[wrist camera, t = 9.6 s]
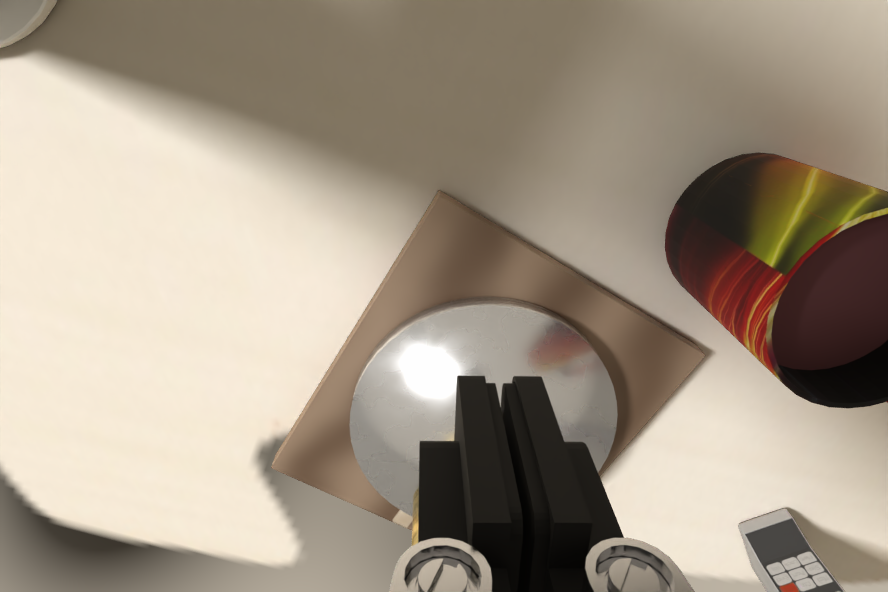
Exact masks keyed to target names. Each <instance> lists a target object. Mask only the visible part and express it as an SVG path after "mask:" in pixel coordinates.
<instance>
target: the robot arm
mask: <svg viewBox="0 0 888 592" xmlns="http://www.w3.org/2000/svg"><path fill="white" fill-rule="evenodd" d="M56 3H57V0H0V48H2V47H6V46H9V45H11V44H13V43H15V42H17V41H19V40H21V39H23V38H25V37H27V36H28V35H29V34H30V33H31V32H33V31H34V30H35V29H36V28H37V27H38V26H39V25H41V24H42V23H43V22H44V20H45V19H46V18H47V16H48V15H49V13H50V12H51V10H52V9H53V8H54V6H55V5H56ZM389 592H695V591H694V590H693V589H692V587H691V585H690V584H689V583H688V581H687V579H686V578H685V576H684V575H683V573H682V572H681V570H680V569H679V568H678V566H677V565H676V564H675V563H674V562H673V561H672V560H671V558H670V557H669V556H667V555H666V554H664V553H663V552H662V551H660V550H659V549H658V548H656V547H654V546H652V545H649V544H647V543H645V542H643V541H639V540H635V539H631V538H624V537H623V534H622V532H621V529H620V527H619V524H618V522H617V519H616V517H615V514H614V512H613V509H612V507H611V504H610V502H609V499H608V497H607V494H606V492H605V489H604V487H603V484H602V482H601V479H600V477H599V474H598V472H597V469H596V467H595V464H594V462H593V459H592V457H591V454H590V452H589V449H588V447H587V445H586V443H584V442H564V439H563V436H562V433H561V430H560V428H559V425H558V422H557V419H556V416H555V413H554V410H553V407H552V405H551V402H550V399H549V396H548V393H547V390H546V387H545V384H544V382H543V379H542V377H541V376H514V377H513V379H512V383H503V386H502V395H501V407H500V402H499V397H498V393H497V388H496V384H495V383H486V379H485V376H457V387H456V411H455V434H454V441H420V443H419V508H418V543H417V544H415V545H413V546H412V547H410V548H408V550H407V551H406V552H405V553H404V554H403V555H402V556H401V557H400V558H399V560H398V562H397V565H396V567H395V569H394V573H393V577H392V582H391V586H390V590H389Z"/></svg>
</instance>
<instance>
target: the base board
mask: <svg viewBox="0 0 888 592" xmlns="http://www.w3.org/2000/svg"><path fill="white" fill-rule="evenodd" d="M470 297H503V298H511V299H516V300H521V301H526V302H529V303H532V304H535V305H538V306H540V307H543V308H545V309H547V310H549V311H551V312H553V313H555V314H557V315H559V316H560V317H562V318H563V319H565V320H566V321H568V322H569V323H571V324H572V325H573V326H574V327H575V328H576V329H578V330H579V331H580V332H581V333H582V334H583V335H584V336H585V337H586V338H587V340H588V341H589V342H590V343H591V345H592V346H593V347H594V349H595V350H596V352H597V354H598V355H599V357H600V359H601V361H602V362H603V364H604V366H605V368H606V370H607V371H608V374H609V376H610V379H611V381H612V384H613V387H614V391H615V395H616V400H617V414H618V416H617V427H616V433H615V437H614V441H613V444H612V447H611V449H610V452H609V454H608V457H607V459H606V460H605V462H604V464H603V465H602V467H601V469H600V471H599V472H598V474H599V477H600V476H601V474H602V473H603V472H604V471H605V470H606V469H607V468H608V466H609V465H610V464H611V463H612V462H613V461H614V460H615V458H616V457H617V456H618V455H619V454H620V453H621V452H622V450H623V449H624V448H625V447H626V446H627V445H628V444H629V442H630V441H631V440H632V439H633V438H634V437H635V436H636V434H637V433H638V432H639V431H640V430H641V429H642V428H643V426H644V425H645V424H646V423H647V422H648V421H649V420H650V418H651V417H652V416H653V415H654V414H655V413H656V412H657V410H658V409H659V408H660V407H661V406H662V405H663V404H664V402H665V401H666V400H667V399H668V398H669V397H670V396H671V394H672V393H673V392H674V391H675V390H676V389H677V388H678V386H679V385H680V384H681V383H682V382H683V381H684V380H685V378H686V377H687V376H688V375H689V374H690V373H691V372H692V371H693V369H694V368H695V367H696V366H697V365H698V364H699V363H700V361H701V360H702V359H703V358H704V357H705V356H706V355H705V354H704V353H703V352H702V351H701V350H700V348H699V347H698V346H697V345H696V344H694V343H693V342H691V341H689V340H688V339H686V338H684V337H683V336H681V335H679V334H678V333H676V332H674V331H673V330H671V329H669V328H668V327H666V326H664V325H663V324H661V323H659V322H658V321H656V320H654V319H653V318H651V317H649V316H648V315H646V314H644V313H643V312H641V311H639V310H638V309H636V308H634V307H633V306H631V305H629V304H628V303H626V302H624V301H623V300H621V299H619V298H618V297H616V296H614V295H613V294H611V293H609V292H608V291H606V290H604V289H603V288H601V287H599V286H598V285H596V284H594V283H593V282H591V281H590V280H588V279H586V278H585V277H583V276H581V275H580V274H578V273H576V272H575V271H573V270H571V269H570V268H568V267H566V266H565V265H563V264H561V263H560V262H558V261H556V260H555V259H553V258H551V257H550V256H548V255H546V254H545V253H543V252H541V251H540V250H538V249H536V248H535V247H533V246H531V245H530V244H528V243H526V242H525V241H523V240H521V239H520V238H518V237H516V236H515V235H513V234H511V233H510V232H508V231H506V230H505V229H503V228H501V227H500V226H498V225H496V224H495V223H493V222H491V221H490V220H488V219H486V218H485V217H483V216H481V215H480V214H478V213H476V212H475V211H473V210H471V209H470V208H468V207H466V206H465V205H463V204H461V203H460V202H458V201H456V200H455V199H453V198H451V197H450V196H448V195H446V194H445V193H443V192H441V191H440V190H439V191H438V193H437V194H436V196H435V197H434V199H433V201H432V202H431V204H430V205H429V207H428V209H427V210H426V212H425V214H424V215H423V217H422V218H421V220H420V222H419V223H418V225H417V227H416V228H415V230H414V231H413V233H412V235H411V236H410V238H409V239H408V241H407V243H406V244H405V246H404V248H403V249H402V251H401V252H400V254H399V256H398V257H397V259H396V261H395V262H394V264H393V265H392V267H391V269H390V270H389V272H388V273H387V275H386V277H385V278H384V280H383V282H382V283H381V285H380V286H379V288H378V290H377V291H376V293H375V295H374V296H373V298H372V299H371V301H370V303H369V304H368V306H367V307H366V309H365V311H364V312H363V314H362V316H361V317H360V319H359V320H358V322H357V324H356V325H355V327H354V329H353V330H352V332H351V333H350V335H349V337H348V338H347V340H346V341H345V343H344V345H343V346H342V348H341V350H340V351H339V353H338V354H337V356H336V358H335V359H334V361H333V363H332V364H331V366H330V367H329V369H328V371H327V372H326V374H325V375H324V377H323V379H322V380H321V382H320V384H319V385H318V387H317V388H316V390H315V392H314V393H313V395H312V397H311V398H310V400H309V401H308V403H307V405H306V406H305V408H304V410H303V411H302V413H301V414H300V416H299V418H298V419H297V421H296V422H295V424H294V426H293V427H292V429H291V431H290V432H289V434H288V435H287V437H286V439H285V440H284V442H283V444H282V445H281V447H280V448H279V450H278V452H277V453H276V456H275V458H274V461H273V464H272V467H271V468H272V469H275V470H277V471H279V472H281V473H283V474H286V475H288V476H290V477H293V478H295V479H297V480H299V481H302V482H304V483H306V484H308V485H311V486H313V487H315V488H317V489H320V490H322V491H324V492H326V493H329V494H331V495H333V496H335V497H338V498H340V499H342V500H345V501H347V502H349V503H351V504H353V505H356V506H358V507H360V508H362V509H365V510H367V511H369V512H371V513H374V514H376V515H378V516H380V517H383V518H385V519H387V520H389V521H392V522H394V523H396V524H398V525H401V526H403V527H405V528H408V529H410V530H412V521H413V517H412V516H410V515H408V514H406V513H404V512H402V511H401V510H399V509H398V508H397V507H395V506H394V505H392V504H391V503H389V502H388V501H387V500H386V499H385V498H384V497H383V496H381V495H380V494H379V493H378V492H377V491H376V489H375V488H374V487H373V486H372V485H371V484H370V482H369V481H368V479H367V478H366V476H365V475H364V473H363V472H362V470H361V468H360V466H359V464H358V462H357V459H356V457H355V454H354V450H353V447H352V443H351V436H350V411H351V406H352V401H353V396H354V391H355V386H356V383H357V380H358V377H359V375H360V372H361V370H362V368H363V366H364V364H365V362H366V361H367V359H368V357H369V356H370V354H371V353H372V352H373V350H374V349H375V348H376V346H377V345H378V344H379V343H380V342H381V341H382V340H383V339H384V338H385V337H386V336H387V335H388V334H389V333H390V332H391V331H392V330H393V329H395V328H396V327H397V326H399V325H400V324H401V323H402V322H404V321H405V320H407V319H409V318H411V317H412V316H414V315H416V314H417V313H419V312H421V311H424V310H426V309H428V308H431V307H433V306H435V305H439V304H442V303H446V302H449V301H453V300H458V299H464V298H470Z"/></svg>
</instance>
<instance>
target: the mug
mask: <svg viewBox="0 0 888 592" xmlns="http://www.w3.org/2000/svg"><path fill="white" fill-rule="evenodd" d="M665 251H666V257H667V262H668V264H669V267H670V269H671V271H672V274H673V275H674V277H675V278H676V279H677V281H678V282H679V283H680V285H681V286H682V287H683V288H685V289H686V290H687V291H688V292H689V293H690V294H691V295H692V296H693V297H694V298H695V299H696V300H697V301H698V302H699V303H700V304H701V305H702V306H703V307H704V308H705V309H706V310H707V311H708V312H709V313H710V314H711V315H712V316H714V317H715V318H716V319H717V320H718V321H719V322H720V323H721V324H722V325H723V326H724V327H725V328H726V329H727V330H728V331H729V332H730V333H731V334H732V335H733V336H734V337H735V338H736V339H737V340H738V341H739V342H740V343H741V344H743V345H744V346H745V347H746V348H747V349H748V350H749V351H750V352H751V353H752V354H753V355H754V356H755V357H756V358H757V359H758V360H759V361H760V362H761V363H762V364H763V365H764V366H765V367H766V368H767V369H768V370H769V371H770V372H772V373H773V374H774V375H775V376H776V377H777V378H778V379H779V380H780V381H781V382H782V383H783V384H784V385H785V386H786V387H788V388H789V389H790V390H791V391H792V392H794V393H795V394H796V395H798V396H800V397H802V398H804V399H806V400H808V401H810V402H812V403H816V404H820V405H824V406H827V407H837V408H856V407H865V406H871V405H875V404H879V403H883V402H888V192H887V191H884V190H881V189H878V188H875V187H872V186H869V185H866V184H863V183H860V182H857V181H854V180H851V179H848V178H845V177H842V176H839V175H836V174H833V173H830V172H827V171H824V170H821V169H818V168H815V167H812V166H809V165H806V164H803V163H800V162H797V161H794V160H791V159H788V158H785V157H781V156H778V155H775V154H767V153H752V154H743V155H739V156H736V157H733V158H729V159H726V160H724V161H722V162H720V163H718V164H716V165H714V166H712V167H711V168H709V169H708V170H707V171H705V172H704V173H703V174H701V175H700V176H699V177H697V178H696V179H695V180H694V181H693V182H692V183H691V184H690V185H689V187H688V188H687V189H686V190H685V191H684V192H683V194H682V195H681V197H680V198H679V200H678V201H677V203H676V204H675V207H674V209H673V211H672V213H671V215H670V218H669V221H668V225H667V229H666V235H665Z"/></svg>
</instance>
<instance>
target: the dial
mask: <svg viewBox="0 0 888 592" xmlns="http://www.w3.org/2000/svg"><path fill="white" fill-rule="evenodd" d="M457 376H485V379H486V383H495V384H496V388H497V393H498V397H499V402H500V407H501V395H502V386H503V383H512V379H513V377H514V376H541V377H542V379H543V382H544V384H545V387H546V390H547V393H548V396H549V399H550V402H551V405H552V407H553V410H554V413H555V416H556V419H557V422H558V425H559V428H560V430H561V433H562V436H563V439H564V442H584V443H586V445H587V447H588V449H589V452H590V454H591V457H592V459H593V462H594V464H595V467H596V469H597V472H599V471H600V469H601V467H602V465H603V464H604V462H605V460H606V459H607V457H608V454H609V452H610V449H611V447H612V444H613V441H614V437H615V433H616V427H617V416H618V414H617V400H616V395H615V391H614V387H613V384H612V381H611V379H610V376H609V374H608V371H607V370H606V368H605V366H604V364H603V362H602V361H601V359H600V357H599V355H598V354H597V352H596V350H595V349H594V347H593V346H592V345H591V343H590V342H589V341H588V340H587V338H586V337H585V336H584V335H583V334H582V333H581V332H580V331H579V330H578V329H576V328H575V327H574V326H573V325H572V324H571V323H569V322H568V321H566V320H565V319H563V318H562V317H560V316H559V315H557V314H555V313H553V312H551V311H549V310H547V309H545V308H543V307H540V306H538V305H535V304H532V303H529V302H526V301H521V300H516V299H511V298H503V297H470V298H464V299H458V300H453V301H449V302H446V303H442V304H439V305H435V306H433V307H431V308H428V309H426V310H424V311H421V312H419V313H417V314H416V315H414V316H412V317H411V318H409V319H407V320H405V321H404V322H402V323H401V324H400V325H399V326H397V327H396V328H395V329H393V330H392V331H391V332H390V333H389V334H388V335H387V336H386V337H385V338H384V339H383V340H382V341H381V342H380V343H379V344H378V345H377V346H376V348H375V349H374V350H373V352H372V353H371V354H370V356H369V357H368V359H367V361H366V362H365V364H364V366H363V368H362V370H361V372H360V375H359V377H358V380H357V383H356V386H355V391H354V396H353V401H352V406H351V411H350V436H351V443H352V447H353V450H354V454H355V457H356V459H357V462H358V464H359V466H360V468H361V470H362V472H363V473H364V475H365V476H366V478H367V479H368V481H369V482H370V484H371V485H372V486H373V487H374V488H375V489H376V491H377V492H378V493H379V494H380V495H381V496H383V497H384V498H385V499H386V500H387V501H388V502H389V503H391V504H392V505H394V506H395V507H397V508H398V509H399V510H401V511H402V512H404V513H406V514H408V515H410V516H412V517H413V521H412V546H413V545H415V544H417V543H418V508H419V443H420V441H454V434H455V411H456V387H457Z"/></svg>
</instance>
